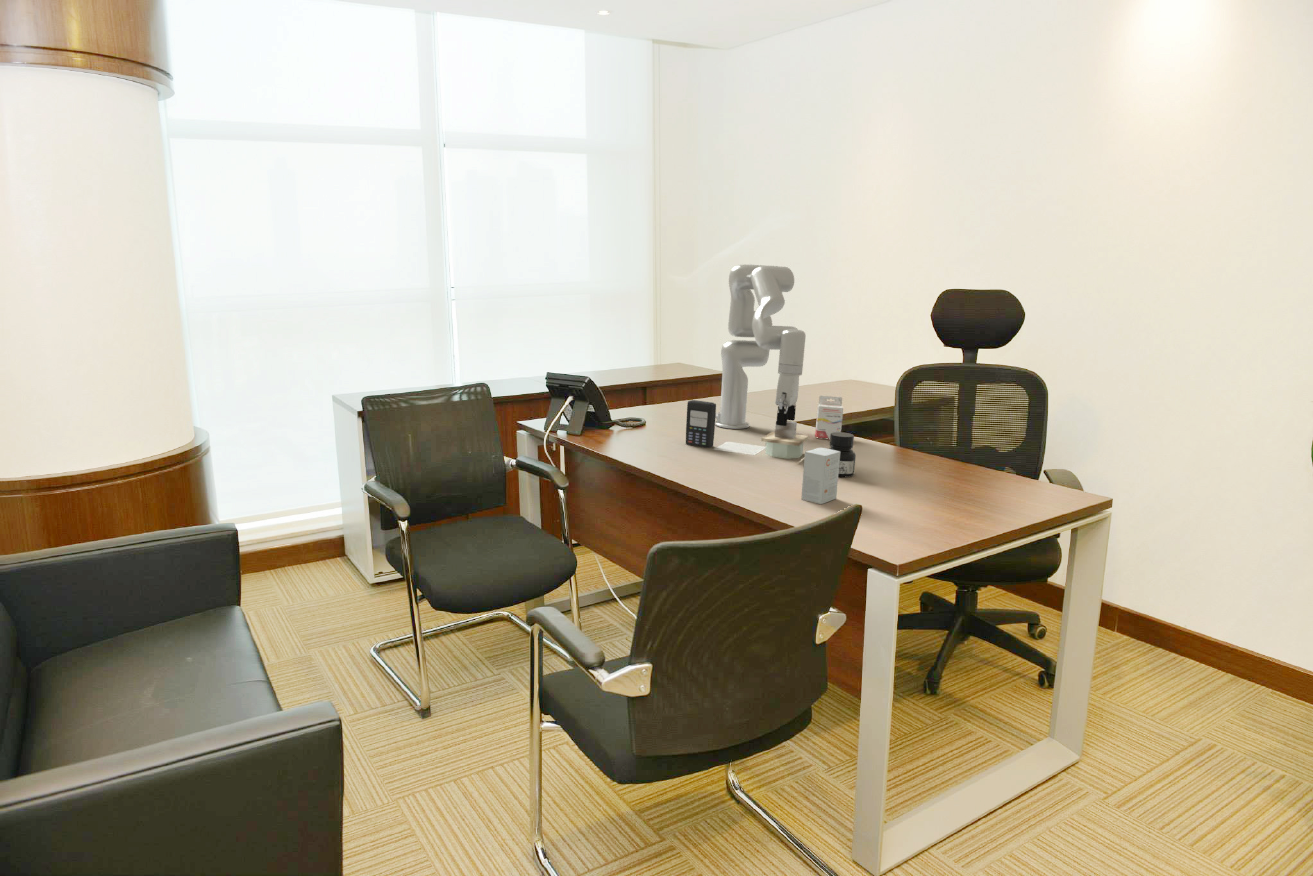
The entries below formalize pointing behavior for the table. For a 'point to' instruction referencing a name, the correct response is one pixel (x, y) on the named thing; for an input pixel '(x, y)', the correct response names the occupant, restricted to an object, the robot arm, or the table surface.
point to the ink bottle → (844, 452)
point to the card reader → (700, 423)
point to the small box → (820, 475)
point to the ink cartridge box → (828, 416)
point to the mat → (740, 448)
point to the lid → (785, 435)
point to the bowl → (784, 450)
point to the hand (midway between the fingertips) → (785, 422)
